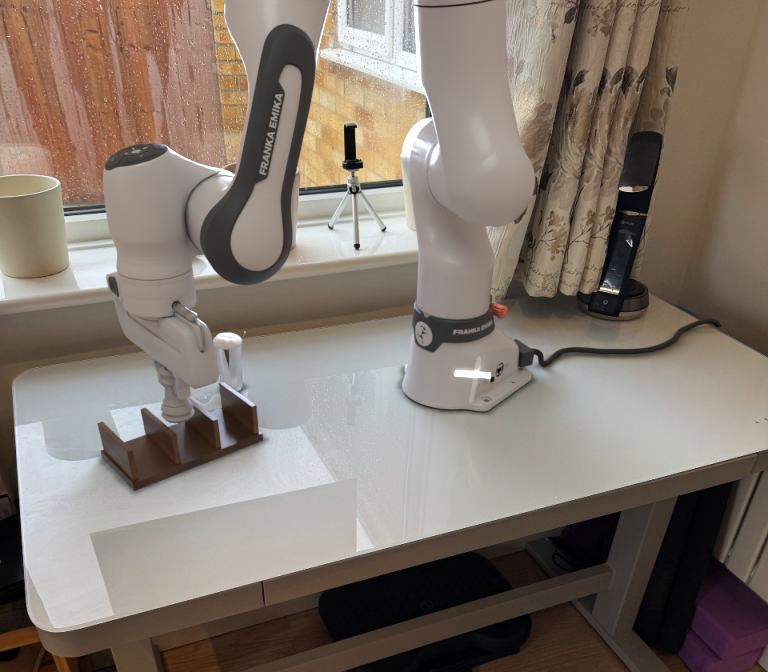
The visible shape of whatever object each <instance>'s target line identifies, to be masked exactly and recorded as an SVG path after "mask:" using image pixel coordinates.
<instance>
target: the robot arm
mask: <svg viewBox="0 0 768 672" xmlns="http://www.w3.org/2000/svg"><path fill="white" fill-rule="evenodd" d="M331 2H332V0H224V6H223V7H224V9H223V10H224V11H223V17H224V21H225V25H226V29H227V30H228V33H229V35H230V37H231V40H232V42H233V43H234V45H235V47H236V49H237V51H238V53H239V55H240V58H241V61H242V63H243V67H244V69H245V74H246V79H247V86H248V88H247V89H248V101H247V107H246V108H247V109H246V113H245V118H244V124H243V129H242V134H241V139H240V144H239V149H238V154H237V160H236V165H235V170H234V173H232V172H231V171H228V170H225V169H223V168H218V167H213V166H209V165H205V164H201V163H198V162H196V161H193V160H191V159H188V158H186V157H185V156H183V155H180V154H178V152H176V151H174V150H173V149H171V148H170V147H169V146H168V145H166V144H163V143H158V142H150V143H145V142H144V143H137V144H133V145H129V146H126V147H124V148H122V149H121V148H120V149H119V150H117V151H116V152H115V153H113V154H111V155H110V157H108V159H107V160H106V162H105V164H104V166H103V172H102V190H103V191H102V192H103V200H104V207H105V214H106V221H107V226H108V231H109V235H110V237H111V239H112V241H113V243H114V247H115V250H116V265H115V266H116V268H115V269H116V271H114V272H110V273H107V274H106V276H105V280H106V284H107V288H108V290H109V291H110V292H111V293H112V296H113V303H114V308H115V311H116V314H117V318H118V322H119V325H120V329H121V330H122V333H123V334H124V336H125V337H126V339H128V340H129V341H131V343H133V344H134V345H136V346H137V347H139V349H141V350H142V351H144V352H145V353H146V354H147V355H149V360H150V362H151V364H152V366H153V368H154V370H155V372H156V373H157V374H156V375H157V381H158V384H160V386H162V387H164V384H163V382H162V379H163V376H162V375H161V374H160V373H159V372H158V370H159V368H160V363H161V364H162V365H163V366H165V367H166V368H167V369H168V370H170V371H171V372H172V373H173V376H174V377H175V384H173V385H172V388H173V394H174V395H175V396H176V397H177V398H178V399H180V400H183V399H186V398H189V397H190V398H191V394H192V393H191V388H192V389H195V390H197V389H201V388H205V387H207V386H210V385H213V384H215V383H217V381H218V380H219V378H220V376H219V369H218V363H217V358H216V353H215V348H214V343H213V339H214V338H213V336H212V333H211V330H210V328H209V326H208V325H207V324H206V323H205V322H204V321H202V320H201V319H199V318H200V317H199V315H198V314H197V312H195V311H193V310H192V309H194V307H195V306H196V305H197V302H198V299H197V292H196V285H195V276H194V269H193V259H194V258H195V257H198V256H204V257H205V259H206V260H207V262H208V264H209V265H210V266H211V268H212V270H213V271H214V272H215V273H216V274H217V275H218V276H219V277H220V278H222V279H223V280H225V281H227V282H229V283H231V284H235V285H239V286H253V285H258V284H260V283H263V282H265V281H267V280H269V279H271V278H272V277H274V276H275V275H276V274H278V272H280V270H281V269H282V268H283V267H284V265H285V264H286V262H287V260H288V258H289V256H290V254H291V250H292V247H293V246H292V245H293V222H292V221H293V220H292V196H293V188H294V184H295V179H296V175H297V169H298V166H299V165H298V164H299V160H300V156H301V152H302V151H301V150H302V146H303V141H304V136H305V133H306V127H307V124H308V118H309V114H310V109H311V106H312V105H311V104H312V98H313V93H314V89H315V88H314V87H315V80H316V72H317V63H318V55H319V50H320V44H321V41H322V38H323V37H322V36H323V33H324V28H325V23H326V20H327V16H328V13H329V9H330V5H331ZM413 14H414V15H413V17H414V30H415V31H414V32H415V47H416V65H417V76H418V80H419V84H420V85H421V88H422V89H423V91H424V94H425V97H426V99H427V103H428V105H429V109H430V113H431V116H429V117H425V118H423V119H421V120H420V121H418V122H416V123H415V125H413V126H412V128H411V129H410V130H409V131H408V133H407V135H406V136H405V139H404V142H403V146H402V151H401V160H402V165H403V169H404V171H405V174H406V176H407V181H408V183H409V188H410V194H411V201H412V202H411V203H412V210H413V217H414V224H415V230H416V231H415V232H416V239H417V250H418V253H417V255H418V262H417V284H416V285H417V287H416V299H415V300H414V303H413V309H412V321H411V322H412V323H411V325H412V333H411V340H410V346H409V352H408V358H407V362H405V363H404V369H403V370H404V376H403V379H402V382H401V389H402V391H403V393H404V394H405V395H406V396H407V397H408V398H409V399H411V400H412V401H414V402H416V403H417V404H420V405H423V406H427V407H430V408H434V409H440V410H469V411H475V412H487V411H490V410H491V409H492V408H494V407H495V406H497V405H498V404H500V403H501V402H503V401H504V400H505V399H507V398H508V397H509V396H511V395H512V394H514V393H515V392H516V391H518V390H519V389H520V388H522V387H524V386H525V385H526V384H527V383H529V382H531V380H532V373H531V372H530V370H529V368H527V367H528V366H529V367H530V366H533V363H534V357H535V356H536V357H537V362H538V364H539V366H541V367H548V366H549V365H551V364H552V363H554V361H555V360H556V359H558V358H559V357H560V356H562V355H564V354H571V353H573V354H574V353H579V354H581V353H582V354H592V355H640V354H641V355H642V354H647V353H653V352H657V351H661V350H664V349H665V348H668V347H670V346H671V345H673V344H674V343H676V342H677V341H678V340H679V339H680V337H681V335H682V334H683V333H685V332H688V331H690V330H692V329H694V328H697V327H700V326H703V325H708V324H711V325H713V326H714V327H715V328H722V327H723V326H722V324H721V322H720V321H719V320H717V319H716V318H712V317H710V318H709V317H707V318H702V319H697V320H696V321H693V322H690V323H688V324H685V325H684V326H681V327H680V328H679V329H677V330H676V331H675V333H674V334H673V336H672V337H671V338H669V339H667V340H665V341H663V342H661V343H657V344H656V345H651V346H645V347H638V348H597V347H586V346H568V347H562V348H560V349H558V350H556V351H554V352H553V353H552V354H551V355H550V356H549V357H548V358H547V359H546V360H545V357H544V353H543V352H542V351H541V349H538V348H533V347H530V346H528V345H526V344H525V343H523V342H522V341H520V340H519V339H518V338H515V339H513V338H512V337H511V336H510V335H508V334H507V333H505V331H503V330H502V329H500V328H499V327H498V325H496V323H495V317H496V318H498V319H499V320H503V319H505V318H506V317H507V315H508V312H509V310H508V307H507V306H506V305H503V304H500V303H498V302H495V303H494V304H491V303H490V302H491V292H492V284H493V276H494V266H495V253H494V248H493V246H492V244H491V241H490V237H489V233H488V230H487V227H490V228H500V227H503V226H504V227H505V226H507V225H509V224H511V223H513V222H515V221H516V220H517V219H519V217H520V216H522V214H523V213H524V212H525V211H526V209H528V207H529V205H530V203H531V200H532V198H533V195H534V192H535V186H536V175H535V169H534V166H533V163H532V162H531V160H530V158H529V156H528V155H527V152H526V150H525V148H524V145H523V142H522V140H521V139H522V138H521V136H520V133H519V128H518V124H517V117H516V114H515V109H514V104H513V99H512V93H511V88H510V83H509V74H508V62H507V0H413Z"/></svg>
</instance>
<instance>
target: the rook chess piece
mask: <svg viewBox="0 0 768 672" xmlns="http://www.w3.org/2000/svg"><path fill="white" fill-rule="evenodd" d="M158 372H159V373H160V374H161V375H162V376H163V379H162V382H163V384H164V386H163V388H164V399H162V403H161V404H160V405H161V406H160V411H161V418H162V419H163V420H164V421H165V422H168V423H170V424H178V423H182V422H186V421H188V420H190V419H191V418H192V416H193V415H194V409H193V404H192V402H191V401H190V400H189V398H186V399H183V400H180V399H178V398H177V397H176V396H175V395H174V394H173V388H172V385H173V384H175V377H174V376H173V373H172V372H171V371H170V370H168V369H167V368H166V367H165V366H163V365H162V364H161V363H160V368H159V370H158Z"/></svg>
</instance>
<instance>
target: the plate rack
mask: <svg viewBox="0 0 768 672" xmlns="http://www.w3.org/2000/svg"><path fill="white" fill-rule="evenodd" d="M218 387H219V396H220V403H221V404H220V405H221V407H220V408H218V409H215V410H212V411H208V410H207V409H205V408H204V407H203V406H202V405H201V404H199V403H197V402H196V400H194V399H193V398H191V396H190V397H189V400H190V401H191V402H192V404H193V409H194V415H193V416H192V418H191V419H190V420H188V421H186V422H182V423H174V424H171V425H169V426H168V425H166V423H164V422H163V421H162V420H161V419H159V418H158V417H157V416H156V415H155V414H154V413H153V412H152V411H151V410H149V409H148V408H147V407H143V408H140V414H141V420H142V425H143V429H144V435H141V436H138V437H135V438H133V439H130V440H127V441H124V440H123V439H122V438H121V437H119V435H118V434H117V433H116V432H114V431H113V430H112V428H110V427H109V426H108V425H107V424H106V423H105V422H104V421H100V422H98V423H96V424H97V428H98V432H99V436H100V440H101V441H100V442H101V445H102V449H101V450H100V454H101V458H102V459H103V461H105V463H107V464H108V465H109V466H110V468H112V470H114V471H115V473H117V475H118V476H119V477H120V478H121V479H122V480H123V481H124V482H125V483H126V484H127V485H128V486H129V487H130V488H131V489H132V490H133V491H137V490H140V489H142V488H146V487H148V486H151V485H153V484H155V483H158V482H160V481H163V480H166V479H168V478H171V477H173V476H176V475H178V474H181V473H184V472H186V471H189V470H192V469H195V468H197V467H200V466H202V465H204V464H207V463H209V462H212V461H214V460H217V459H219V458H222V457H224V456H227V455H230V454H232V453H235V452H238V451H240V450H242V449H245V448H248V447H250V446H252V445H255V444H257V443H261V442H263V441H264V433H263V432H261V431H260V429H259V418H258V408H257V407H258V406H257V404H256V403H254V402H253V401H251V400H250V399H248V398H247V397H246V396H244V395H243V394H241V393H240V392H239V391H238V392H237V391H236V390H234V389H233V388H232V387H230V386H229V385H227V384H226V383H225V382H221V381H220V382H219V383H218Z"/></svg>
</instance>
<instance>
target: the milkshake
mask: <svg viewBox="0 0 768 672" xmlns="http://www.w3.org/2000/svg"><path fill="white" fill-rule="evenodd" d="M245 335H246V332H244V334H243V335H242V337H241V336H240V335H238V334H236V333H233V332H220V333H218V334H217V335H216V336H214V338H212V339H213V343H214V348H215V353H216V358H217V363H218V369H219V380H220V383H221V382H225V383H226V384H227V385H229V386H230V387H232V388H233V389H234V390H236V391H237V392H238V393H239V392H240V391H241V390H243V340H244V338H245Z"/></svg>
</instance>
